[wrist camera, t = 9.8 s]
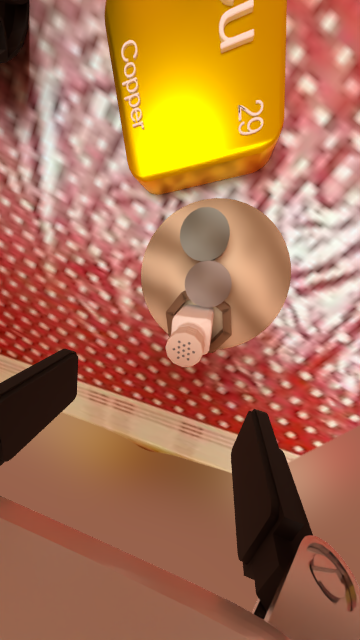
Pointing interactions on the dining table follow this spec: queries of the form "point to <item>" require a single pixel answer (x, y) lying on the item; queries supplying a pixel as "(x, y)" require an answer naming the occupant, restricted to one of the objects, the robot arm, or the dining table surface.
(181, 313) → the salt shaker
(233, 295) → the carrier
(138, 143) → the element tile
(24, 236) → the dining table surface
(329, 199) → the dining table surface
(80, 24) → the dining table surface
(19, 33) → the car wheel rim
